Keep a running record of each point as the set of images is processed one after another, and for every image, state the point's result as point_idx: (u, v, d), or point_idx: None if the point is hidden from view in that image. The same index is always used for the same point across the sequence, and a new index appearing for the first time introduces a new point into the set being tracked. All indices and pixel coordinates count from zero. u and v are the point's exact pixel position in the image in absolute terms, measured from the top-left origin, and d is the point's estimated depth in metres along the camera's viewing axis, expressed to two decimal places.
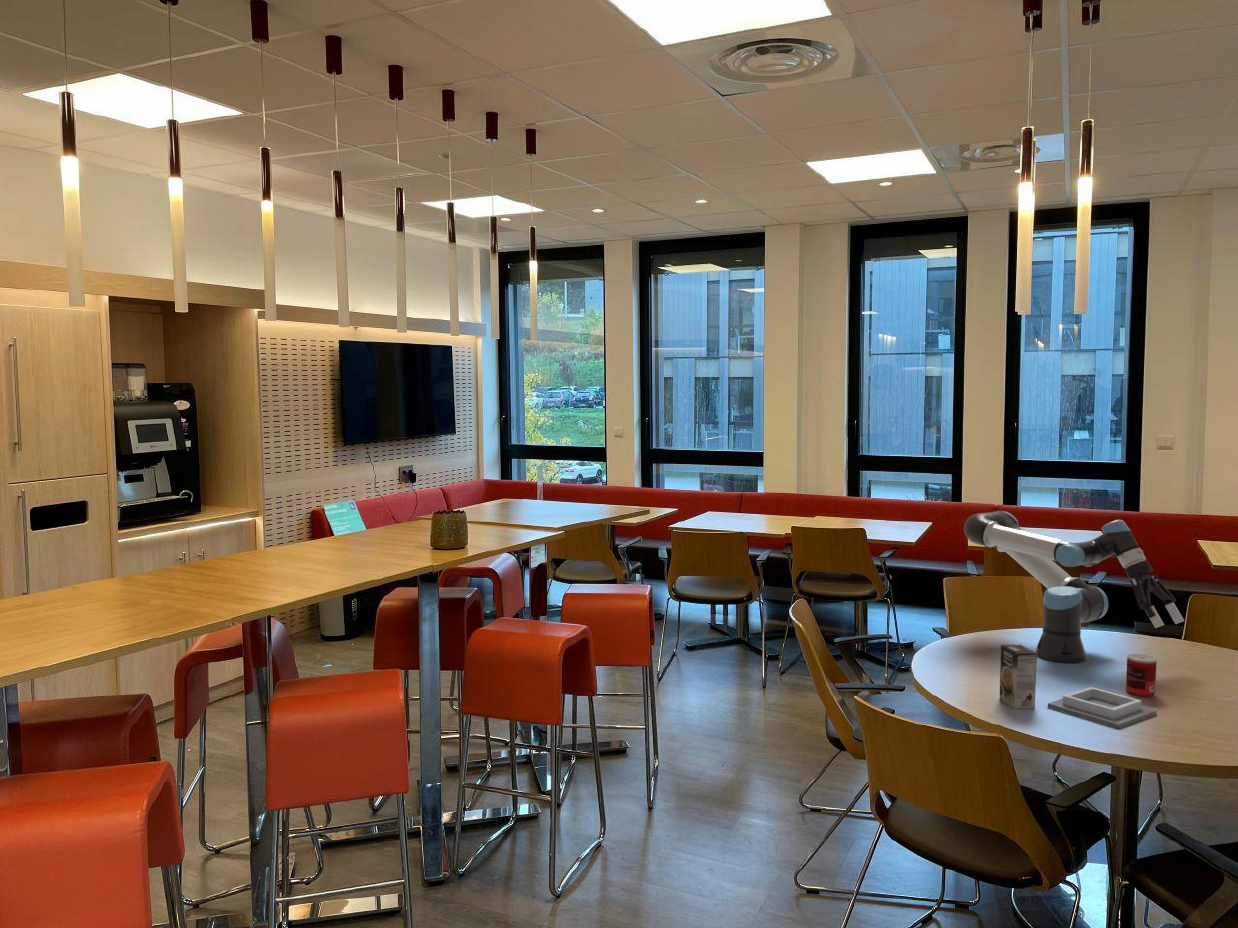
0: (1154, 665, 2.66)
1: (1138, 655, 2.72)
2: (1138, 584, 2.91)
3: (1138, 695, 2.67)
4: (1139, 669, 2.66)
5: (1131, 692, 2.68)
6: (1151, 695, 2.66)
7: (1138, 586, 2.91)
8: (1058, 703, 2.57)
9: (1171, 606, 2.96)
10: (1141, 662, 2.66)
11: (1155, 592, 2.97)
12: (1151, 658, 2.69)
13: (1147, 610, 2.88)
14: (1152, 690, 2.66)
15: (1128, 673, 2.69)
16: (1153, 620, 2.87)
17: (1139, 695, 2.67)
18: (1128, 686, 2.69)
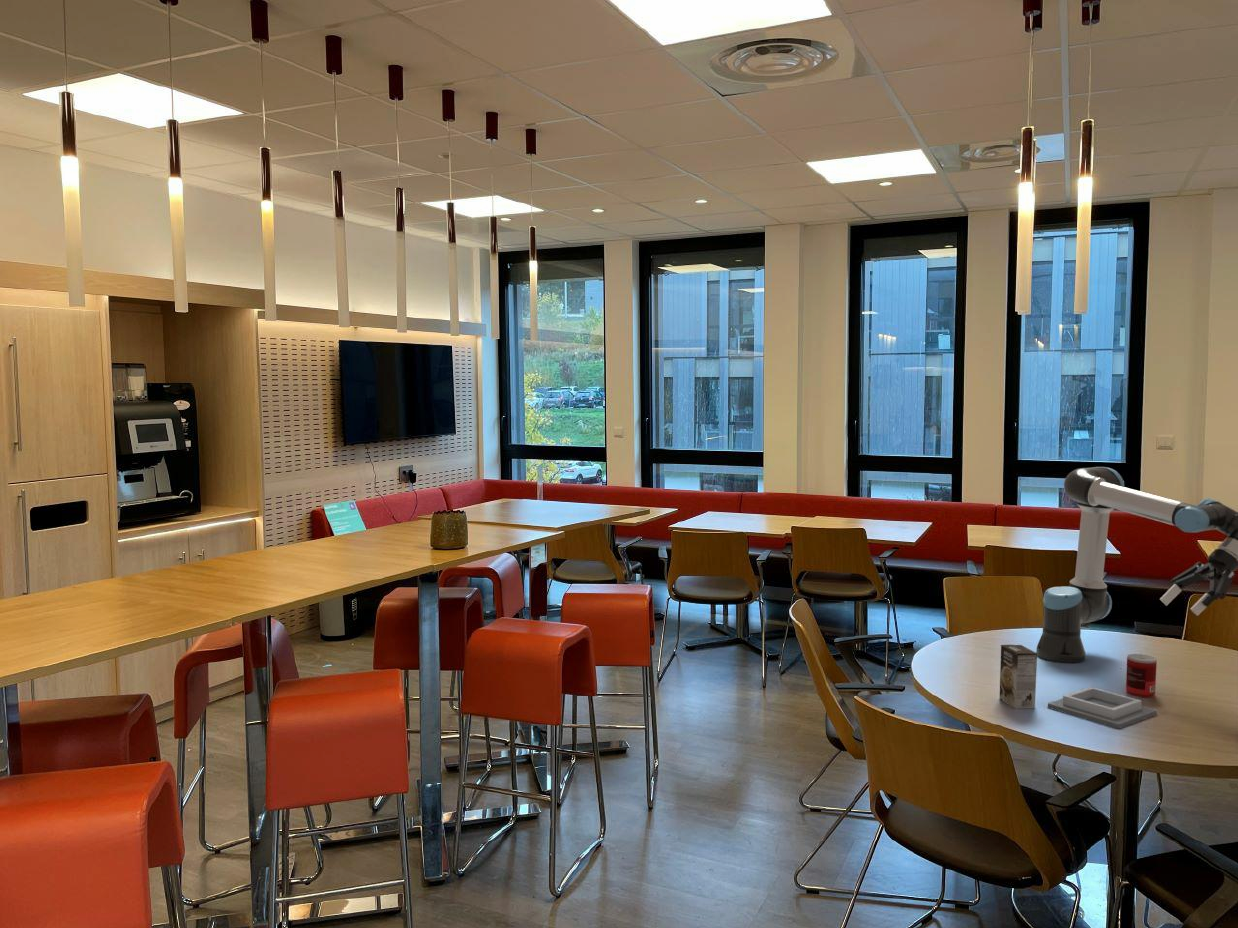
0: (1154, 665, 2.66)
1: (1138, 655, 2.72)
2: (1230, 579, 2.62)
3: (1138, 695, 2.67)
4: (1139, 669, 2.66)
5: (1131, 692, 2.68)
6: (1151, 695, 2.66)
7: (1229, 581, 2.62)
8: (1058, 703, 2.57)
9: (1177, 590, 2.75)
10: (1141, 662, 2.66)
11: (1194, 577, 2.72)
12: (1151, 658, 2.69)
13: (1210, 599, 2.61)
14: (1152, 690, 2.66)
15: (1128, 673, 2.69)
16: (1199, 605, 2.62)
17: (1139, 695, 2.67)
18: (1128, 686, 2.69)
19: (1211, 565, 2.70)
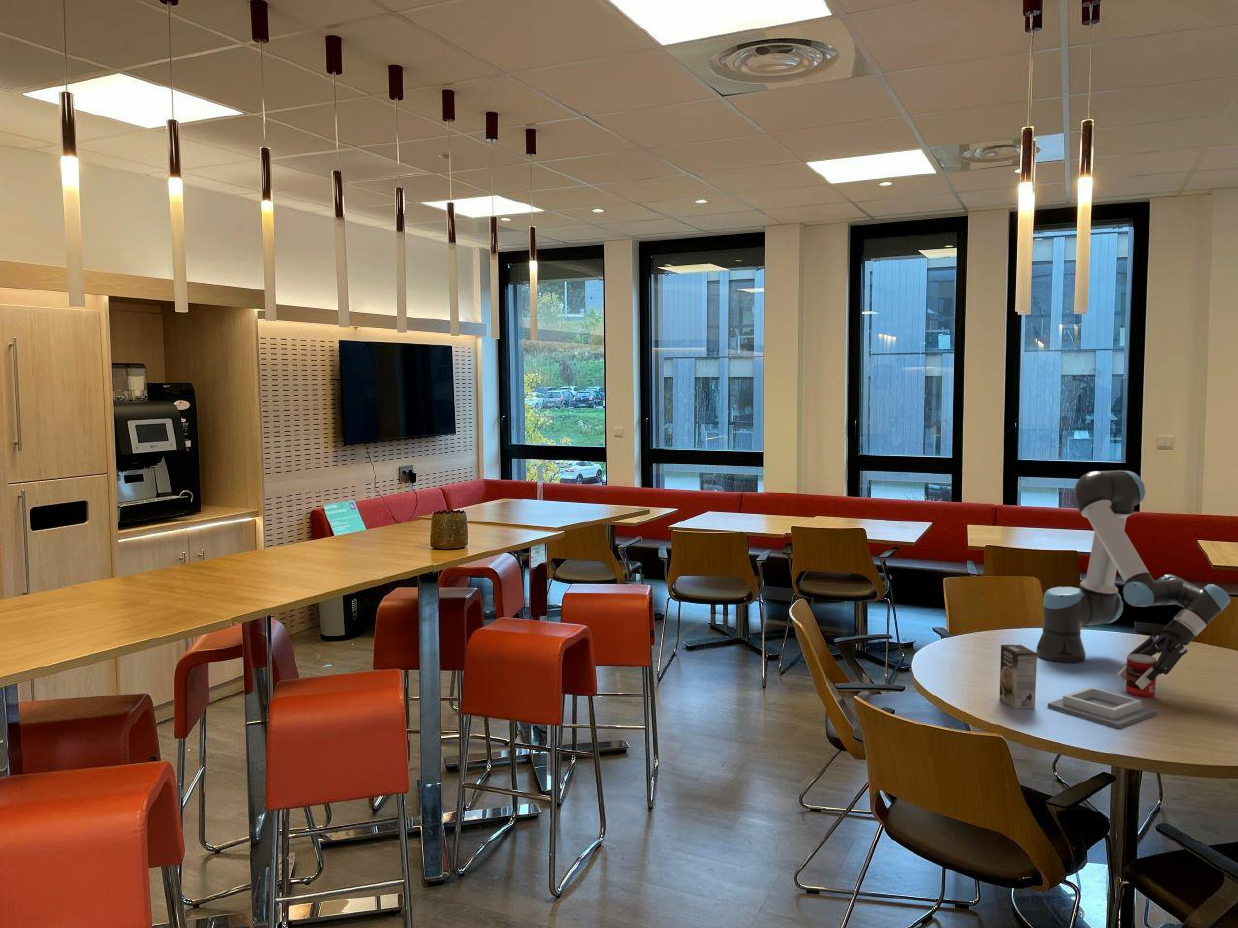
0: None
1: (1138, 655, 2.72)
2: (1181, 655, 2.63)
3: (1138, 695, 2.67)
4: (1139, 669, 2.66)
5: (1131, 692, 2.68)
6: (1151, 695, 2.66)
7: (1179, 656, 2.63)
8: (1058, 703, 2.57)
9: None
10: (1141, 662, 2.66)
11: (1152, 649, 2.72)
12: (1151, 658, 2.69)
13: (1155, 673, 2.64)
14: (1152, 690, 2.66)
15: (1128, 673, 2.69)
16: (1143, 679, 2.65)
17: (1139, 695, 2.67)
18: (1128, 686, 2.69)
19: (1168, 634, 2.71)
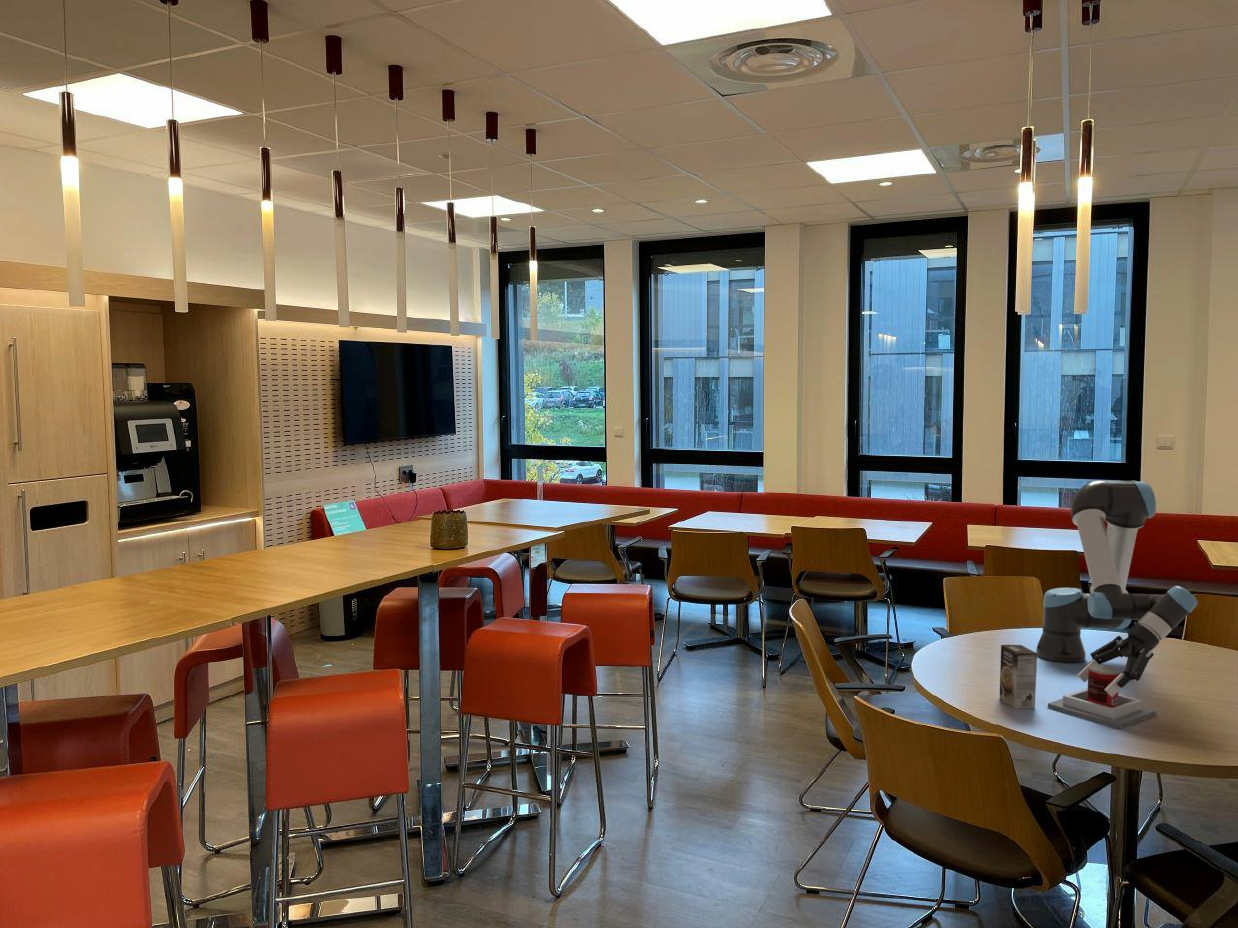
0: None
1: (1100, 666, 2.57)
2: (1148, 659, 2.47)
3: None
4: (1100, 681, 2.51)
5: None
6: None
7: (1146, 660, 2.47)
8: (1058, 703, 2.57)
9: None
10: (1103, 673, 2.50)
11: (1113, 652, 2.57)
12: (1114, 669, 2.54)
13: (1125, 680, 2.46)
14: (1114, 703, 2.51)
15: (1089, 685, 2.54)
16: (1113, 686, 2.47)
17: None
18: (1089, 699, 2.54)
19: (1130, 641, 2.55)
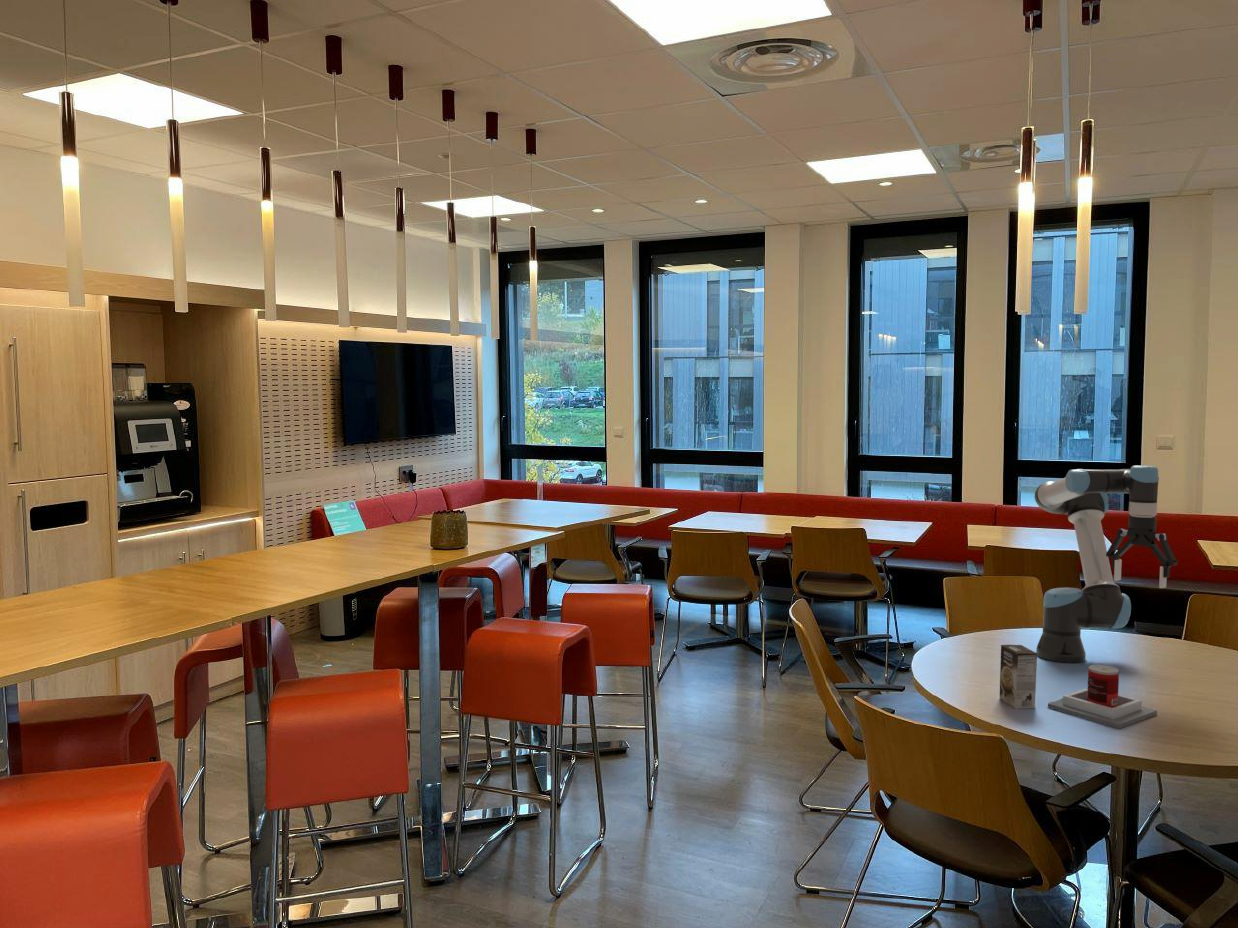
0: (1116, 677, 2.51)
1: (1100, 666, 2.57)
2: (1167, 541, 2.73)
3: None
4: (1100, 681, 2.51)
5: None
6: None
7: (1167, 543, 2.73)
8: (1058, 703, 2.57)
9: (1120, 563, 2.85)
10: (1102, 673, 2.50)
11: (1128, 546, 2.82)
12: (1113, 669, 2.54)
13: (1168, 570, 2.72)
14: (1114, 703, 2.51)
15: (1089, 685, 2.54)
16: (1163, 580, 2.73)
17: None
18: (1089, 699, 2.54)
19: (1136, 531, 2.79)
